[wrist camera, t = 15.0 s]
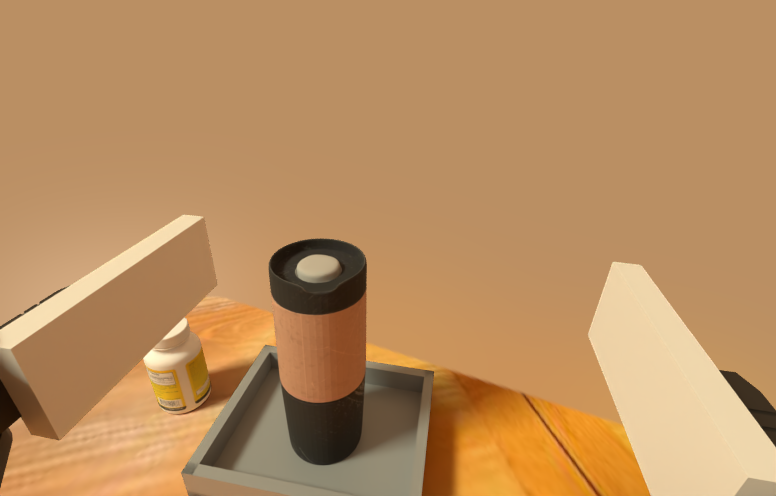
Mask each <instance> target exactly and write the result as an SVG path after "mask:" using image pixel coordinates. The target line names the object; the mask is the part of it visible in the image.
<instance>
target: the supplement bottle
mask: <svg viewBox="0 0 776 496" xmlns="http://www.w3.org/2000/svg"><path fill="white" fill-rule="evenodd" d="M143 359H144V363H145V366H146V369H147V372H148V375H149V378H150V381H151V384H152V386H153V389H154V392H155V395H156V398H157V401H158V403H159V406H160V407H161V409H162V410H163V411H165V412H167V413H170V414H182V413H186V412H189V411H191V410H194V409H195V408H197V407H199V406H200V405H201V404H202V403H204V402H205V401H206V399H207V398H208V397H209V395H210V392H211V382H210V378H209V374H208V370H207V366H206V362H205V357H204V353H203V350H202V345H201V342H200V339H199V338H198V336H197V335H196V334H195V333H193V332H191V331H190V327H189V324H188V321H187V319H186V318H185V317H184V318H183V319H182V320H181V321H180V322H179V323H178V324H177V325H176V326H175V327H174V328H173V329H172V330H171V331H170V332H169V333H168V334H167V335H166V336H165V337H164V338H163V339H162V340H161V341H160V342H159V343H158V344H157V345H156V346H155V347H154V348H153V349H152V350H151V351H150V352H149V353H148V354H147V355H146V356H145V357H144V358H143Z"/></svg>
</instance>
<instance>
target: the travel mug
mask: <svg viewBox="0 0 776 496" xmlns="http://www.w3.org/2000/svg"><path fill="white" fill-rule="evenodd" d="M366 273H367V264H366V258H365V255H364V254H363V252H362V251H361V250H360V249H358V248H357V247H356V246H354V245H352V244H350V243H347V242H344V241H339V240H334V239H308V240H302V241H298V242H295V243H292V244H289V245H287V246H285V247H283V248H281V249H279V250H278V251H277V252H276V253H274V255H273V256H272V257H271V259H270V262H269V277H270V286H271V297H272V306H273V316H274V326H275V336H276V345H277V355H278V365H279V375H280V382H281V388H282V394H283V401H284V407H285V413H286V419H287V425H288V431H289V437H290V442H291V445H292V448H293V450H294V451H295V453H296V454H297V455H298V456H299V457H300V458H301V459H302V460H304V461H306V462H308V463H311V464H314V465H330V464H334V463H337V462H340V461H342V460H344V459H345V458H347V457H348V456H349V455H350V454H351V453H352V452H353V451H354V450H355V449H356V447H357V445H358V443H359V441H360V438H361V433H362V421H363V405H364V389H365V373H366Z"/></svg>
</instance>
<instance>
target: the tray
mask: <svg viewBox="0 0 776 496" xmlns="http://www.w3.org/2000/svg"><path fill="white" fill-rule="evenodd" d="M433 377H434V371H427V370H421V369H415V368H408V367H402V366H396V365H389V364H383V363H377V362H370V361H366V373H365V389H364V405H363V421H362V433H361V438H360V441H359V443H358V445H357V447H356V449H355V450H354V451H353V452H352V453H351V454H350V455H349V456H348V457H347V458H345V459H344V460H342V461H340V462H337V463H334V464H330V465H314V464H311V463H308V462H306V461H304V460H302V459H301V458H300V457H299V456H298V455H297V454H296V453H295V451H294V450H293V448H292V445H291V442H290V437H289V431H288V425H287V419H286V413H285V407H284V401H283V394H282V388H281V382H280V375H279V365H278V355H277V347H275V346H269V345H265V346H264V348H263V349H262V351H261V352H260V354H259V355H258V357H257V358H256V360H255V361H254V363H253V364H252V366H251V367H250V369H249V370H248V372H247V373H246V375H245V376H244V378H243V379H242V381H241V382H240V384H239V386H238V387H237V389H236V390H235V392H234V393H233V395H232V396H231V398H230V399H229V401H228V402H227V404H226V405H225V407H224V408H223V410H222V411H221V413H220V414H219V416H218V417H217V419H216V420H215V422H214V424H213V425H212V427H211V428H210V430H209V431H208V433H207V434H206V436H205V437H204V439H203V440H202V442H201V443H200V445H199V446H198V448H197V449H196V451H195V452H194V454H193V455H192V457H191V458H190V460H189V462H188V463H187V465H186V466H185V468H184V469H183V471H182V472H181V474H182V477H183V480H184V483H185V486H186V489H187V492H188V495H189V496H421V495H422V486H423V476H424V466H425V456H426V446H427V436H428V426H429V417H430V407H431V397H432V387H433Z"/></svg>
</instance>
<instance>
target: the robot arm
mask: <svg viewBox="0 0 776 496" xmlns="http://www.w3.org/2000/svg"><path fill="white" fill-rule="evenodd" d="M216 286H217V279H216V274H215V270H214V265H213V260H212V255H211V250H210V245H209V240H208V235H207V230H206V225H205V220H204V217H199V216H191V215H182V216H181V217H179V218H177V219H176V220H174V221H173V222H171V223H169V224H168V225H166V226H165V227H163V228H161V229H160V230H158V231H157V232H155V233H153V234H152V235H150V236H149V237H147V238H145V239H144V240H142V241H141V242H139V243H137V244H136V245H134V246H133V247H131V248H130V249H128V250H126V251H125V252H123V253H121V254H120V255H118V256H117V257H115V258H113V259H112V260H110V261H109V262H107V263H106V264H104V265H102V266H101V267H99V268H98V269H96V270H94V271H93V272H91V273H90V274H88V275H86V276H85V277H83V278H82V279H80V280H78V281H77V282H75V283H74V284H72V285H70V286H68V287H66V288H63V289H60V290H58V291H56V292H55V293H53V294H52V295H50V296H48V297H47V298H45V299H44V300H42V301H40V304H39V305H37V304H36V305H34V306H32V307H31V308H29V309H28V310H26V311H24V314H20V315H18V316H17V317H15V318H13V319H11V320H10V321H8V322H7V323H5V324H3V325H2V326H0V487H1V483H2V479H3V475H4V471H5V468H6V464H7V460H8V456H9V452H10V448H11V445H12V441H13V440H12V433H11V431H10V429H9V428H8V427H9V426H11V425H12V424H13V423H14V422H15V421H16V420H18V419H19V418H20V417H21V418H22V420H23V421H24V423H25V425H26V426H27V428H28V430H29V431H30V433H31V435H36V436H41V437H46V438H51V439H56V440H61V439H62V438H63V437H64V436H65V435H66V434H67V433H68V432H69V431H70V430H71V429H72V428H73V427H74V426H75V425H76V424H77V423H78V422H79V421H80V420H81V419H82V418H83V417H84V416H85V415H86V414H87V413H88V412H89V411H90V410H91V409H92V408H93V407H94V406H95V405H96V404H97V403H98V402H99V401H100V400H101V399H102V398H103V397H104V396H105V395H106V394H107V393H108V392H109V391H110V390H111V389H112V388H113V387H114V386H115V385H116V384H117V383H118V382H119V381H120V380H121V379H122V378H123V377H124V376H125V375H127V374H128V373H129V372H130V371H131V370H132V369H133V368H134V367H135V366H136V365H137V364H138V363H139V362H140V361H141V360H142V359H143V358H144V357H145V356H146V355H147V354H148V353H149V352H150V351H151V350H152V349H153V348H154V347H155V346H156V345H157V344H158V343H159V342H160V341H161V340H162V339H163V338H164V337H165V336H166V335H167V334H168V333H169V332H170V331H171V330H172V329H173V328H174V327H175V326H176V325H177V324H178V323H179V322H180V321H181V320H182V319H183V318H184V317H185V316H186V315H187V314H188V313H189V312H190V311H191V310H192V309H193V308H194V307H195V306H196V305H197V304H198V303H199V302H200V301H201V300H202V299H203V298H204V297H205V296H206V295H207V294H208V293H209V292H211V290H212V289H214V287H216ZM588 336H589V339H590V341H591V344H592V346H593V349H594V352H595V354H596V356H597V359H598V362H599V364H600V367H601V369H602V372H603V375H604V377H605V379H606V382H607V385H608V387H609V390H610V392H611V395H612V398H613V400H614V402H615V405H616V408H617V410H618V413H619V415H620V418H621V420H622V423H623V426H624V428H625V431H626V433H627V436H628V438H629V441H630V443H631V446H632V449H633V451H634V454H635V456H636V459H637V461H638V464H639V466H640V469H641V472H642V474H643V477H644V479H645V482H646V484H647V487H648V489H649V492H650V495H651V496H776V410H775V409H774V408H773V407H772V405H771V404H770V403H769V402H768V400H767V399H766V398H765V397H764V395H763V394H762V393H761V392H760V391H759V390H758V389H756V388H755V387H754V386H752V385H751V384H750V383H749V382H747V381H746V380H745V379H743V378H742V377H741V376H740V375H738V374H737V373H736V372H729V371H722V370H718V369H717V367H716V366H715V365H714V363H713V362H712V361H711V359H710V358H709V357H708V355H707V354H706V352H705V351H704V350H703V348H702V347H701V346H700V344H699V343H698V342H697V340H696V339H695V338H694V336H693V335H692V333H691V332H690V331H689V330H688V328H687V327H686V326H685V324H684V323H683V321H682V320H681V319H680V317H679V316H678V315H677V313H676V312H675V311H674V309H673V308H672V306H671V305H670V304H669V302H668V301H667V300H666V299H665V297H664V296H663V294H662V293H661V292H660V290H659V289H658V288H657V286H656V285H655V283H654V282H653V281H652V280H651V278H650V277H649V275H648V274H647V273H646V271H645V270H644V269H643V267H642V266H641V265H637V264H628V263H619V262H613V263H612V266H611V269H610V272H609V275H608V278H607V280H606V284H605V286H604V289H603V292H602V295H601V298H600V301H599V304H598V307H597V310H596V312H595V316H594V318H593V321H592V324H591V327H590V330H589V333H588Z"/></svg>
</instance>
